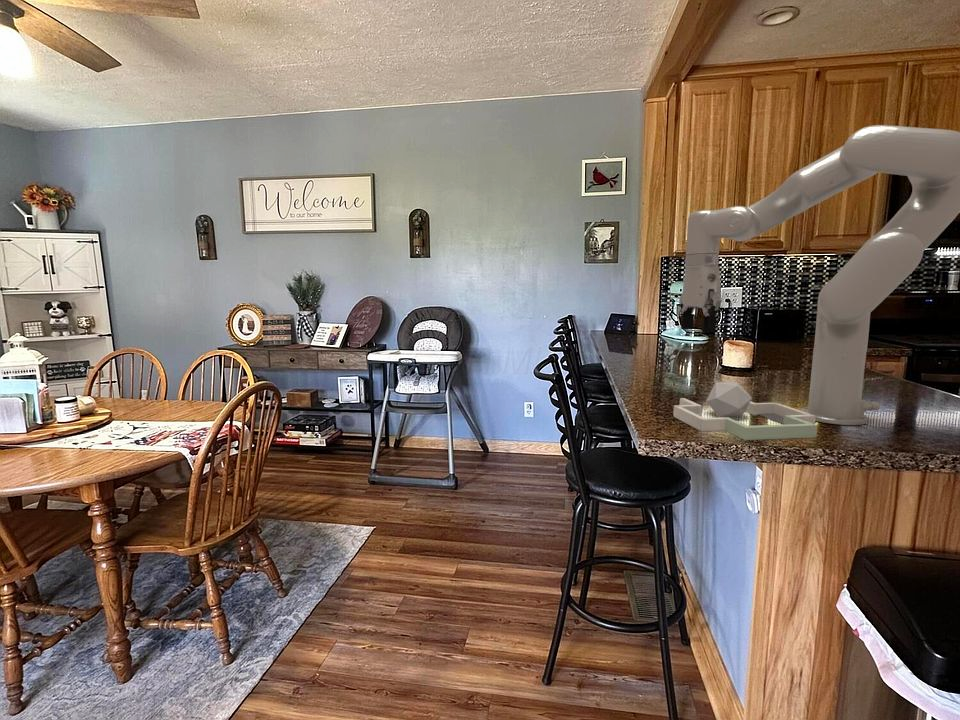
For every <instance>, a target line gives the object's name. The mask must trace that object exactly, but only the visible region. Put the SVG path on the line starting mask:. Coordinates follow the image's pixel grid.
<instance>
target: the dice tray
mask: <svg viewBox="0 0 960 720" xmlns="http://www.w3.org/2000/svg"><path fill="white" fill-rule="evenodd" d="M702 413H703V405H701V404H699V403H696V402H695V401H692V400H690V399H687V398H684V397H681V398H679V404H678V405H675V404H674V405H673V418H675V419H678V420H679V421H681V422H683V423H685V424H687V425H689V426H690V427H692V428H694V429H696V430H698V431H700V432H720V431H723V432H725V431H726V432H727V433H730V434H732V435H733V436H736V437H737V438H739V439H742V440H744V441H755V440H756V441H759V440H761V441H762V440H783V439H809V438H810V439H811V438H812V439H813V438H814V439H815V438H817V434H818V424H816V421H815V417H816V416H814V415H812V414H809V413H806V412H803V411H800V409H797V408H793V407H790V406H788V405H784V404H782V403H779V402H775V401H774V402H753V401H752V400H751V401H750V403H749V405H748V407H747V409H746V410H745V412H744V413H747V414H750V415H753V416H755V415H757V416H761V417H763V418H766V419H768V420H771V421H773V422H776V423H778V424H762V425H758V424H757V425H746V424H744V423H742V422H740V421H738V420H736V419H734V418H729V417H721V418H720V417H704V416H702V415H703V414H702Z"/></svg>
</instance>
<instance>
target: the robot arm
mask: <svg viewBox="0 0 960 720" xmlns="http://www.w3.org/2000/svg"><path fill="white" fill-rule="evenodd" d="M878 173H882V174H890V175H898V176H906V177H907V178H908V180H909V182H910V184H911V188H912V190H911V191H912V192H911V194H910V197H909V199H908V200H907V201H906V203H904V205H902V206H901V208H900V209H899V210H898V211H897V212H896V213H895V214H894V216H893V217H892V218H891V219H890V220H889V221H888V222H887V223H886V224H885V225H884V226H883V227H881V229H880V230H879V231H878V232H877V233H876V234H874V235H873V236H871V237H870V238H868V240H867V241H866V242H865V243H864V244H863V245H862V247H860V248H859V249H858V251H857V252H855V253H854V255H853V256H852V257H851V258H850V259H849V260H848V261H847V262H846V263H845V264H844V265H843V267H842V268H840V270H839V271H837V273H836V274H835V275H834V276H833V277H832V278H831V279H830V280H829V281H828V282H827V283H825V285H823V287H822V288H821V290H820V291H819V294H818V296H817V305H816V306H817V307H816V308H817V309H816V320H815V321H816V323H815V334H814V342H813V351H812V364H811V373H810V384H809V394H808V395H809V396H808V403H807V405H808V406H806V407H801V408H799V410H800V411H803V412H806V413H809V414H812V415H814V416H816V417H815V422H819V423H826V424H831V425H832V424H833V425H842V426H843V425H844V426H859V425H860V426H862V425H865V424H867V423H868V422H869V421H868V420H869V417H868V416H867V415H866V414H865V412H868V411H878V410H880V409H881V408H880V407H881V405H880V403H879V402H878V401H866V400H865V399H862V394H863V387H864V386H863V385H864V377H865V368H866V367H865V366H866V358H867V352H868V343H869V333H870V323H871V312H873V311H874V310H875V309H876V308H877V307H879V305H880V304H881V303H882V302H883V301H884V300H885V299H886V298H888V296H890V294H892V292H894V291H895V289H896V288H898V287H899V285H901V284H902V283H903V282H904V280H906V279H907V278H908V277H909V276H910V275H911V274H912V273H913V272H914V271H915V269H916V268H917V267H918V266H919V264H921V261H922V259H923V256H924V251H926V249H927V248H928V247H929V246H931V244H932V243H934V241H935V240H936V239H938V237H939V236H940V235H941V234H942V233H943V232H944V231H945V229H946V228H948V226H949V225H950V224H951V223H952V222H953V221H954V220H955V219H956V218H957V216H958V215H959V214H960V131H956V130H952V129H944V128H943V129H942V128H929V127H915V126H913V127H912V126H901V125H886V124H874V125H869V126H865V127H862V128H860V129H858V130H856V131H855V132H854V133H852V134H851V135H850V136H849V137H848V139H847V140H845V143H844V144H843V145H842V146H841V147H838V148H836V149H835V150H833V151H831V152H829V153H828V154H826V155H824V156H822V157H821V158H818V159H816V160H814V161H813V162H811V163H809V164H808V165H806V166H804V167H802V168H800V169H798V170H797V171H795V172H793V173H792V174H790V175H789V177H788V178H787V179H785V181H784V182H782V184H781V185H780V186H779V187H778V188H776V189H775V190H774V191H773V192H771V193H770V194H768V195H767V196H766V197H764V198H762V199H760V200H758V201H756V202H755V203H752V204H750V205H749V206H743V205H735V206H729V207H725V208H719V209H715V210H714V209H703V210H696V211H692V212H691V213H689V215H688V218H687V227H686V228H687V229H686V243H685V244H686V245H685V261H684V263H685V264H684V269H685V273H684V277H683V279H684V280H683V285H682V286H683V287H682V294H681V295H680V296H679V307H680V313H681V321H680V322H681V325H680V329H681V330H693V329H694V327H695V326H694V325H695V323H694V322H695V313H694V311H695V310H696V309H702V312H703V316H702V323H701V332H702V333H703V334H706V333H707V334H712V333H716V324H717V317H718V315H719V313H718V312H719V311H720V309H721V304H722V301H723V298H722V297H721V274H720V268H719V260H720V259H719V258H720V257H719V255H720V254H719V253H720V241H721V239H729V240H732V241H736V242H745V241H749V240H750V239H753V238H755V237H758V236H760V235H761V234H763V233H765V232H768V231H770V230H771V229H773V228H776V227H777V226H779V225H781V224H783V223H785V222H786V221H788V220H790V219H791V218H793V217H796V216H797V215H799V214H802V213H804V212H806V211H807V210H808V209H810V208H812V207H815V206H816V205H818V204H820V203H822V202H823V201H825V200H827V199H830V198H831V197H833V196H835V195H837V194H839V193H841V192H843V191H845V190H848V189H850V188H851V187H853V186H856V185H857V184H859V183H861V182H864V181H865V180H868V179H869V178H872V177H873V176H875V175H877V174H878Z"/></svg>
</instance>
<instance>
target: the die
mask: <svg viewBox="0 0 960 720" xmlns="http://www.w3.org/2000/svg"><path fill="white" fill-rule="evenodd" d="M710 390H711V391H710V393H709V394H708V396H707V397H706V400H705V402H706V403H707V404H708V406H709V407H710V408H711V409H712V410H713V412H714V413H715V414H716V415H717V417H718V418H721V417H732V418H742V417H743V416H744V414H745V413H746V412H745V410H746V409H747V407H748V405H749V403H750V401H751V402H752V399H753V397H752V396H751V395H750V394H749V392H748V391H746V390H745V388H744V387H742V385H741V384H740V383H739V382H738V381H722V382H721V381H719V382H717V381H716V382H715V383H714V384H713V386H712V389H710Z"/></svg>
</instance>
